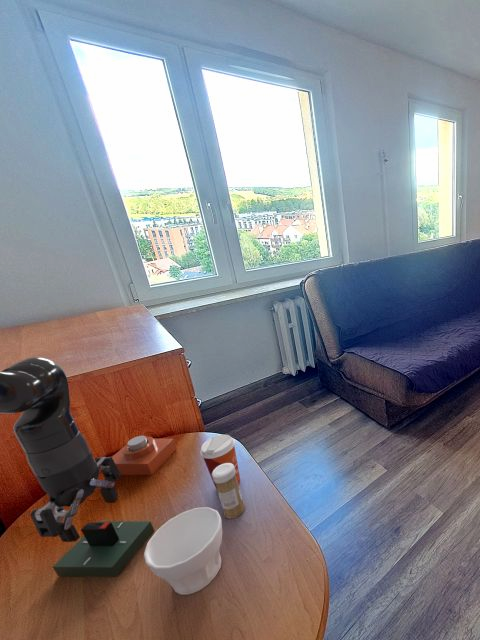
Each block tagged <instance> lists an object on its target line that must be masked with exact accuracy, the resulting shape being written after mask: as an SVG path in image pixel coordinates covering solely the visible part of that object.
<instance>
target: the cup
mask: <svg viewBox="0 0 480 640" xmlns="http://www.w3.org/2000/svg"><path fill="white" fill-rule="evenodd" d="M222 538H223V524H222V517H221V515H220V513H219V511H218V510H217V509H213V508H211V507H194V508H192V509H189V510H185V511H183V512H181V513H179V514H177V515H176V516H175V515H174V516H173V517H172V518H170V519H168V520H167V521H166V522H165V523H163V525H161V526H160V527H159V528H158V529H157V530H155V531H154V533H153V535H152V536H151V537H150V539H149V540H147V543H146V546H145V549H144V551H143V552H144V553H143V557H144V560H145V564H146V566H147V567H148V568H149V569H150V570H151V571H152V573H153V574H154V575H155V576H157V578H160V579H162V580H164V581H165V582H166V583H167V584H168V585H169V586H171V588H172V589H173V591H174V592H175V593H176V594H178V595H181V596H187V595H188V596H189V595H192V594H195V593H196V592H197V593H198V592H199V591H201V590H203V589H204V588H205V587H207V586H208V585H210V583H212V581H213V580H214V579H215V578H216V576H217V575H218V573H219V571H220V569H221V567H222V557H221V554H220V547H221V545H222V540H223V539H222Z"/></svg>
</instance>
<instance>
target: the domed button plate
mask: <svg viewBox="0 0 480 640" xmlns="http://www.w3.org/2000/svg"><path fill="white" fill-rule="evenodd" d="M145 437H146V440H147V442H148V444H147V445H146V446H145V447H143V448H141V449H139V450H135V451H130V449H129V447H128V444H127V443H126V445H123V447H122V448H121V449H120V450H119V451H117V452H116V453H115V454H114V455H112V456H111V457H112V459H113V460H114V462H115V464H116V466H117V468H118V470H119V471H120V473H121V476H153V475H154V474H155V473H156V472H157V470H158V469H160V468H161V466H162V465H163V464H164V463H166V461H167V460H168V459H169V458H170V457H171V456H172V455H173V454H174V453H175V452H176V451H177V450H178V448H177V447H178V446H177V444H176V440H175V438H153V437H152V436H145ZM176 449H177V450H176ZM175 450H176V451H175ZM174 451H175V452H174ZM173 452H174V453H173ZM172 453H173V454H172ZM171 454H172V455H171Z"/></svg>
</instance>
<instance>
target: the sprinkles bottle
mask: <svg viewBox="0 0 480 640" xmlns="http://www.w3.org/2000/svg"><path fill="white" fill-rule="evenodd" d="M235 473H236V471H235V467H234V465H233V464H232V463H224V464H221V465H219V466H218V467H216V468H215V469H214V470H213V472H212V478H213V480H212V482H213V481H214V482H215V484H216V487H217V490H216V492H217V495H218V498H219V501H220V504H221V507H222V510H223V515H224V517H225V518H226V519H229V520H232V519H235V518H238V517H239V516H240V515H242V514H243V513H244V511H245V509H246V504H245V503H244V500H243V494H242V491H241V487H240V484H239V485H238V482H237V478H236V474H235ZM212 478H211V479H212Z"/></svg>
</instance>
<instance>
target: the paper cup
mask: <svg viewBox="0 0 480 640" xmlns="http://www.w3.org/2000/svg"><path fill="white" fill-rule="evenodd" d="M199 455H200V457H201V458H202V459H203V461H204V463H205V465H206V468H207V471H208V473H209V475H210V478H211V480H212V483H213V485H214V487H215V490H216V491H217V487H216V484H215V482H214V481H213V478H212V472H213V470H214V469H215V468H216V467H218V466H219V465H221V464H224V463H232V464H233V465H234V467H235V471H236V473H235V474H236V478H237V482H238V485H239V486H240V483H241V477H240V470H239V464H238V463H239V462H238V458H237V452H236V440H235V438H234V437H232V436H231V435H229V434H225V433H224V434H218V435H215V436H212V437H210V438H208V439H206V440H205V441H204V443H203V444H202V445H201V447H200V451H199Z"/></svg>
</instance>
